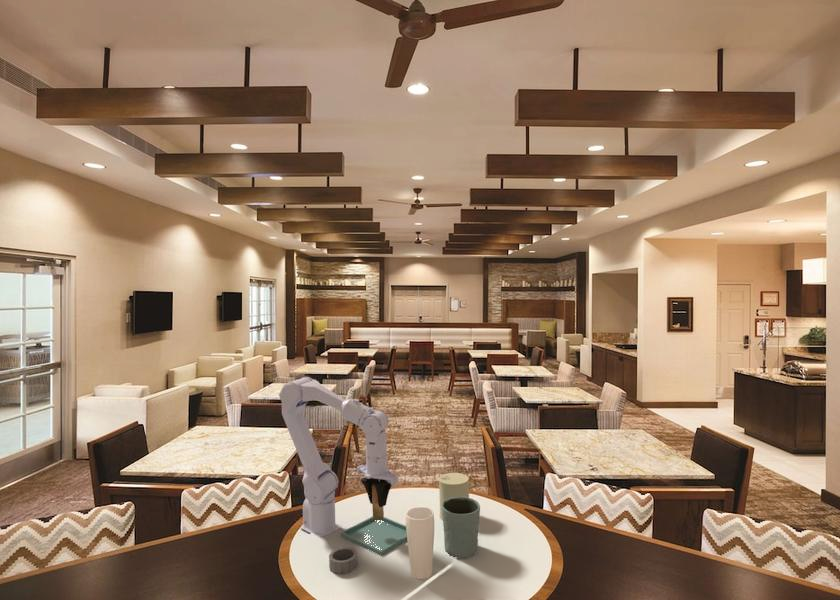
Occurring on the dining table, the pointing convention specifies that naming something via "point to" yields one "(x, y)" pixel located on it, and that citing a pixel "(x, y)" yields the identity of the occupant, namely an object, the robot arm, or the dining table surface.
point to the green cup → (461, 526)
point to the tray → (377, 534)
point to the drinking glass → (420, 541)
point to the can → (452, 487)
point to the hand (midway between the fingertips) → (378, 504)
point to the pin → (376, 506)
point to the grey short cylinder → (343, 560)
